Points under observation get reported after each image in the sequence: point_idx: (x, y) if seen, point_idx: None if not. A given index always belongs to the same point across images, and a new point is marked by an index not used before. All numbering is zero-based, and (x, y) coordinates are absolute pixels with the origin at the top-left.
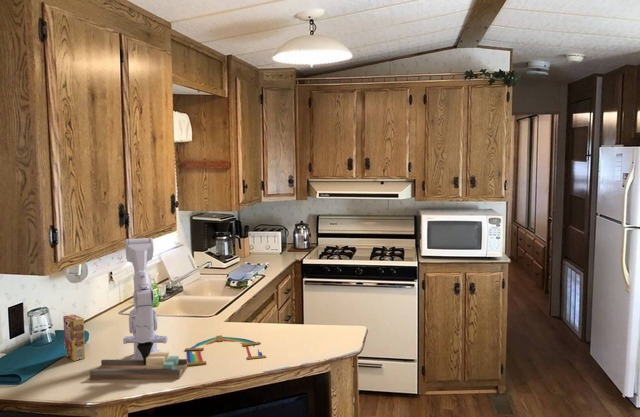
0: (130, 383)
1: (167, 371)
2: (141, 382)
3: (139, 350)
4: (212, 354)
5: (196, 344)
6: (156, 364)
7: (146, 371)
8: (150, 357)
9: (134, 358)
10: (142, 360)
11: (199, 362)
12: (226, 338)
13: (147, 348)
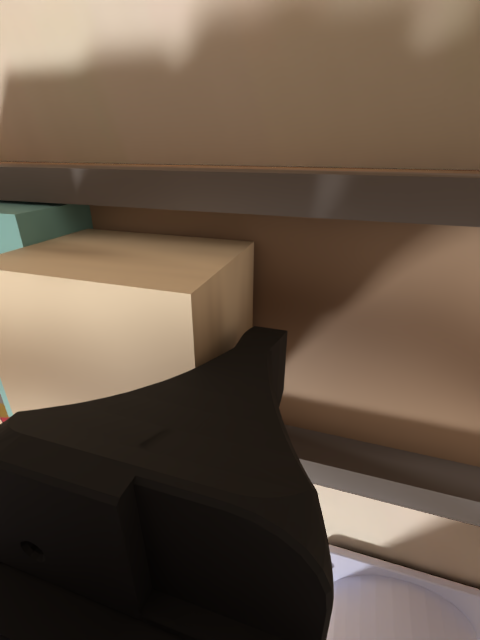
0: (410, 18)
1: (15, 166)
2: (278, 62)
3: (280, 441)
4: None
5: None
6: (106, 251)
7: (221, 170)
8: (138, 323)
9: (466, 598)
10: (349, 469)
11: (4, 406)
12: None
13: (47, 415)
